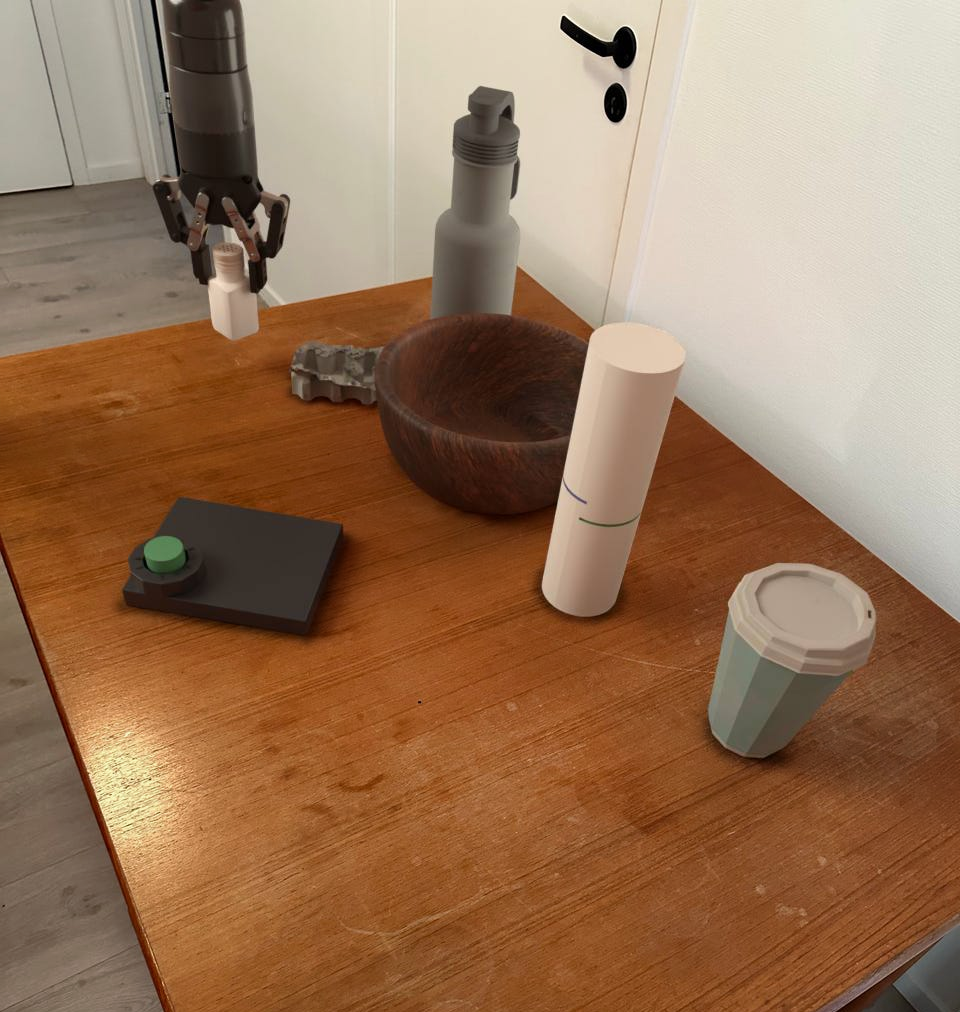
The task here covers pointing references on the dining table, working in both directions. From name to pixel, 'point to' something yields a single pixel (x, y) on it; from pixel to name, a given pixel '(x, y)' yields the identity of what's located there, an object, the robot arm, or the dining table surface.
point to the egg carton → (334, 372)
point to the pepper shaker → (231, 294)
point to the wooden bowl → (481, 408)
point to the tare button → (164, 555)
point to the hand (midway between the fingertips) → (231, 285)
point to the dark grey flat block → (239, 566)
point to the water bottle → (479, 212)
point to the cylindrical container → (610, 463)
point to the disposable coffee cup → (786, 653)
